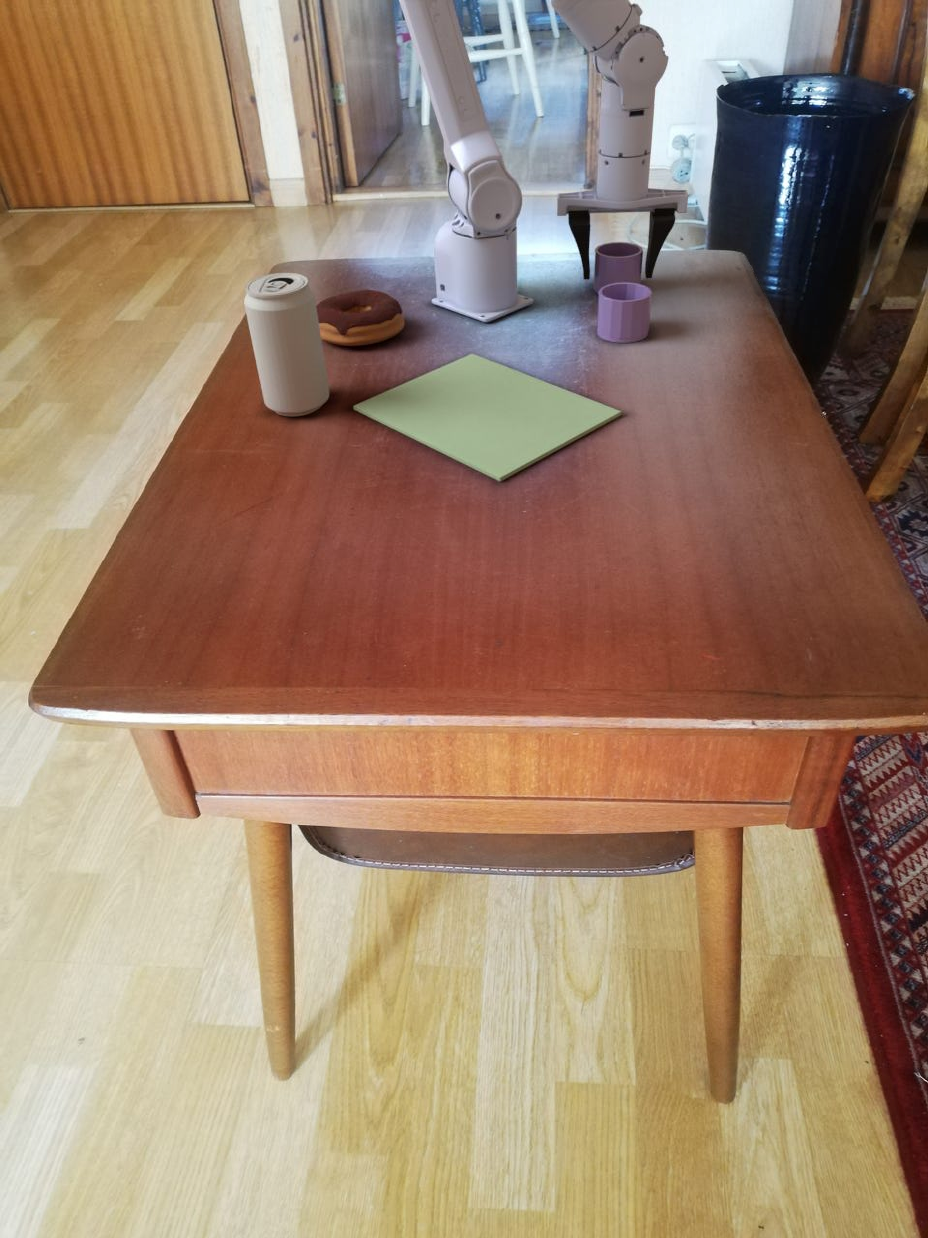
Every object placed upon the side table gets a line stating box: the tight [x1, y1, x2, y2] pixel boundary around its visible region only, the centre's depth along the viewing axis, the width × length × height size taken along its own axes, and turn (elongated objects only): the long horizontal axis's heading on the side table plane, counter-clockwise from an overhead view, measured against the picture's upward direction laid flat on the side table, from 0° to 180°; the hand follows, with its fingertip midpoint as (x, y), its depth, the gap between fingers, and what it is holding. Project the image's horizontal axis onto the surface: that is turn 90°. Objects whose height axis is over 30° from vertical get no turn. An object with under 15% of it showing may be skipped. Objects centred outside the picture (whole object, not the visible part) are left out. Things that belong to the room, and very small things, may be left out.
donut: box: [316, 289, 405, 347], centre depth 102 cm, size 10×10×4 cm
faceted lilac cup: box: [596, 282, 653, 344], centre depth 99 cm, size 6×6×4 cm
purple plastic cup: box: [592, 241, 644, 294], centre depth 110 cm, size 6×6×4 cm
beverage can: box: [243, 272, 330, 417], centre depth 87 cm, size 6×6×12 cm
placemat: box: [352, 353, 622, 483], centre depth 88 cm, size 20×16×1 cm
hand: (617, 276), depth 110 cm, fingers open, 7 cm apart
